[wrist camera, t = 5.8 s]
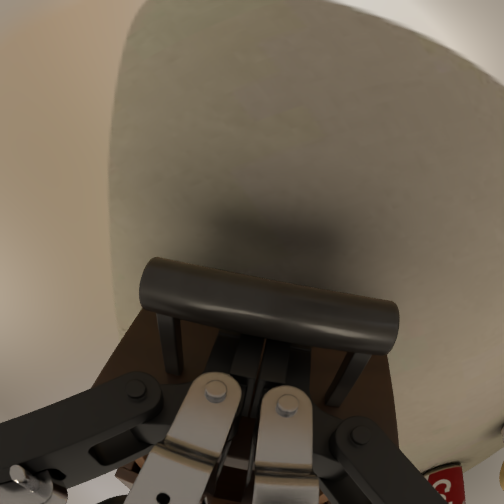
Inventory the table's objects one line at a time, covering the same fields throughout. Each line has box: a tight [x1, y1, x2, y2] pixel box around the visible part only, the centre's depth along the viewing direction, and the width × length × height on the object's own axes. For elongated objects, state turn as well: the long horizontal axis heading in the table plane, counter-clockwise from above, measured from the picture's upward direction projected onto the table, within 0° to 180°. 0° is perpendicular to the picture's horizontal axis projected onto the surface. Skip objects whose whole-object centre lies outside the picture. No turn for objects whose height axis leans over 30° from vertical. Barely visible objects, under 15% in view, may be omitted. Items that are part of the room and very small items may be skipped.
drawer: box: [91, 257, 399, 504], centre depth 13 cm, size 19×11×8 cm, turn 174°
